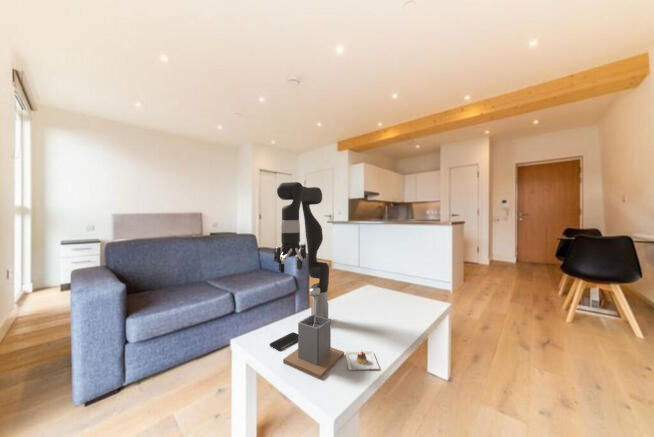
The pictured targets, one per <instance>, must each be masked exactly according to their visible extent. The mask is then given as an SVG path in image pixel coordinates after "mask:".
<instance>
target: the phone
mask: <svg viewBox="0 0 654 437" xmlns="http://www.w3.org/2000/svg"><path fill="white" fill-rule="evenodd" d="M296 342H297V343H298V333H296V332H290V333H288V334H286V335H284V336H282V337H279V338H277V339H276V340H274V341H272V342H270V343H269V347H270V346H271V347H270V348H272V347H273V349H274V348H275V349H276V350H275V349H274V350H275V351H277V350H278V351H277V352H281V351H284V350H285V348H286V349H288V348H289V347H292V346H293V345H295V344H296ZM287 347H288V348H287Z"/></svg>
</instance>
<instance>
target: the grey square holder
mask: <svg viewBox="0 0 654 437" xmlns="http://www.w3.org/2000/svg"><path fill="white" fill-rule="evenodd" d="M331 322H332V321H331V319H329V318H328V319H326V318H323V317H319V316H316V323H317V324H320V325H321V326H319V327H318V328H316V327H313V326H310V325H309V324H311V323H313V315H309V316H307V317H305V318H304V319H302V320H300V321H299V322H298V323H297V327H298V328H297V329H298V330H297V334H298V342H297V349H295V350H294V351H293V352H292V353H290V354H289V355H287V356H286V357H284V358H282V363H283V364H285V365H287V366H289V367H292V369H293V368H294V369H296V370H298V371H300V372H303V373H304V374H307V375H309V376H311V377H314V378H315V379H318V380H321V379H323V377H324V376H325V375H327V373H328V372H329V371H330V370H331V369H332V368H333V367H334V366H336V364H337V363H338V362H340V360H342V359H343V357H344V356H345V351H343V350H340V349H337V348H335V347H332V346H331V338H332V336H331V335H332V334H331V331H332V330H331V328H332V327H331V324H332V323H331Z"/></svg>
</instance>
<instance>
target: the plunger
mask: <svg viewBox="0 0 654 437" xmlns="http://www.w3.org/2000/svg"><path fill="white" fill-rule="evenodd" d="M311 287H312V286H311ZM311 287H310V288H309V296H310V297H311V296H313V323H311V324H309V325H310V326H313V327H316V328H318V327H319V326H321V325H320V324H317V323H316V296H319V295H320V288H318V287H312V288H311Z"/></svg>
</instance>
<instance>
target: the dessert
mask: <svg viewBox="0 0 654 437" xmlns="http://www.w3.org/2000/svg"><path fill="white" fill-rule="evenodd" d="M344 354H345V358H346V362H347V367H348V370H350V371H357V370H360V371H361V370H363V371H365V370H369V368H352V365H351V361H350V360H351V359H350V356H352V355H353V356H355V355H356V359H355V362H356V364H358V365H360V366H361V365H362V366H363V365H366V364H367V363H368V359H367V356H366V355H368V356H369V355H370V356H371V359H372V362H373V364H374V368H372V370H380V369H381V367H380V365H379V363H378V361H377V359H376V356H375V353H374V351H362V350H360V351H344Z"/></svg>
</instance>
